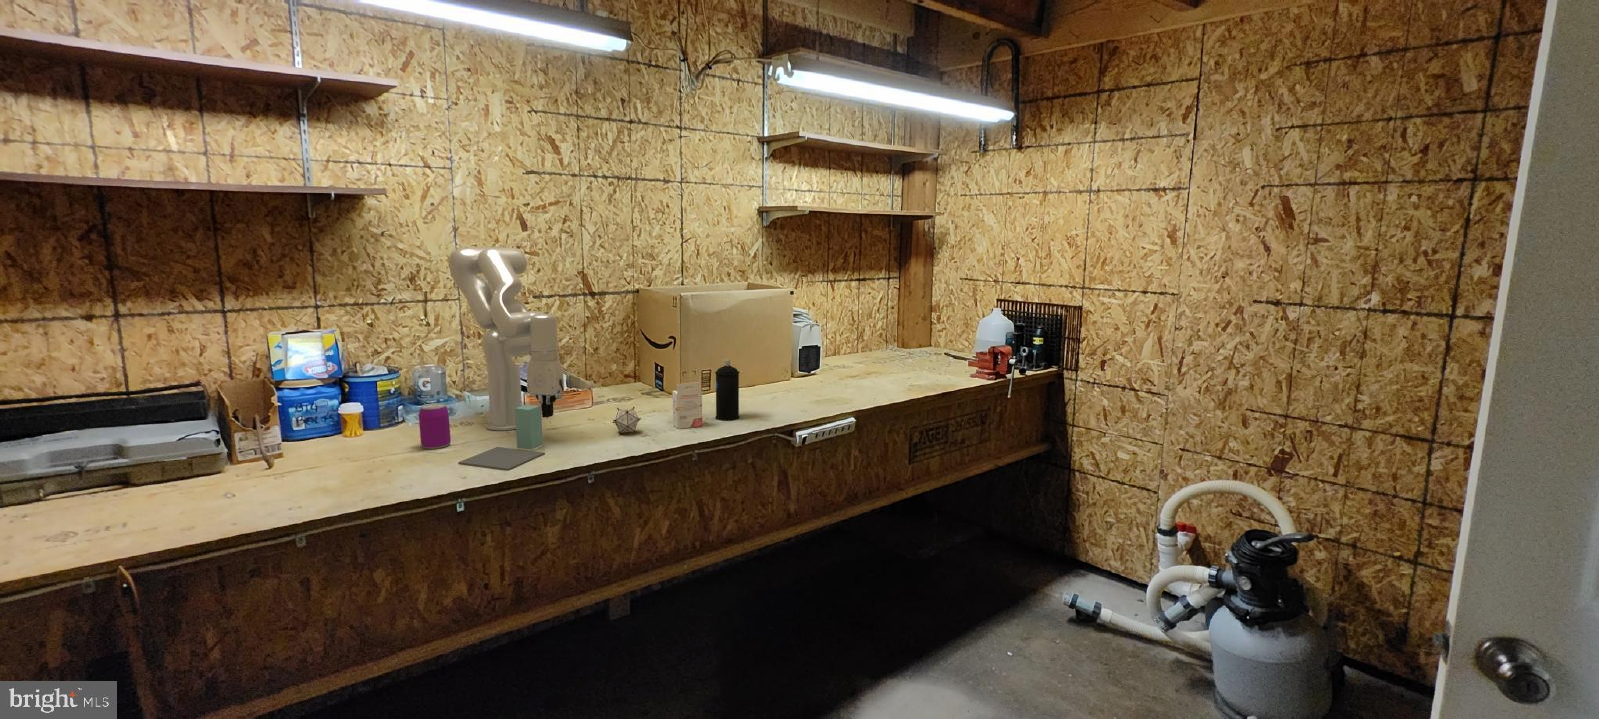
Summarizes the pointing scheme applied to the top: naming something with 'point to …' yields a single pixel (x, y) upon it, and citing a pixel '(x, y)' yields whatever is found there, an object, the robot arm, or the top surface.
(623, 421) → the game die
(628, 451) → the top surface
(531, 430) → the teal block
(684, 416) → the ink cartridge box
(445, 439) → the beverage can
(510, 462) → the mat
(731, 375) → the aerosol can
